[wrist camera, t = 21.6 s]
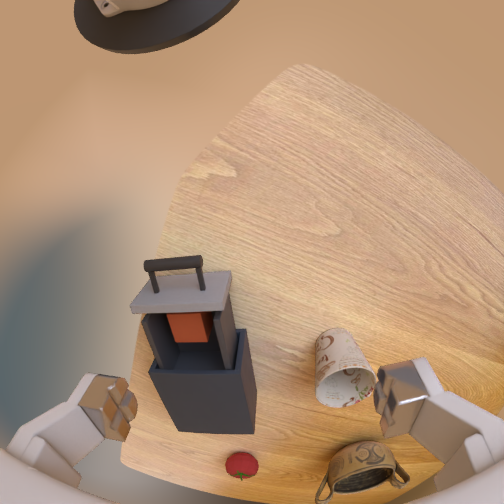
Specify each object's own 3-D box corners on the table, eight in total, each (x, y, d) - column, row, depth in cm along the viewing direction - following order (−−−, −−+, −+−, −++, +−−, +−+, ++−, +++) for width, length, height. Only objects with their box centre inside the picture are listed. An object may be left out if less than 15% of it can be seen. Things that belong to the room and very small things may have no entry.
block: (183, 323, 40) (175, 342, 36) (176, 296, 39) (166, 314, 34) (213, 322, 40) (208, 342, 36) (207, 294, 38) (200, 313, 34)
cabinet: (167, 331, 44) (147, 372, 35) (246, 328, 42) (240, 373, 33) (189, 391, 49) (178, 431, 40) (257, 391, 48) (254, 434, 39)
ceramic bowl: (309, 466, 59) (312, 513, 45) (314, 436, 53) (319, 493, 39) (388, 453, 57) (399, 496, 43) (406, 421, 51) (423, 471, 37)
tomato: (258, 462, 59) (257, 486, 52) (227, 460, 59) (224, 484, 52) (259, 448, 56) (258, 475, 49) (226, 446, 56) (222, 472, 49)
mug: (336, 311, 40) (352, 357, 31) (383, 350, 43) (401, 392, 34) (297, 345, 43) (302, 393, 34) (346, 378, 46) (357, 422, 36)
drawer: (143, 247, 37) (118, 272, 30) (225, 239, 36) (214, 264, 29) (174, 350, 44) (161, 384, 37) (244, 349, 43) (240, 386, 35)
